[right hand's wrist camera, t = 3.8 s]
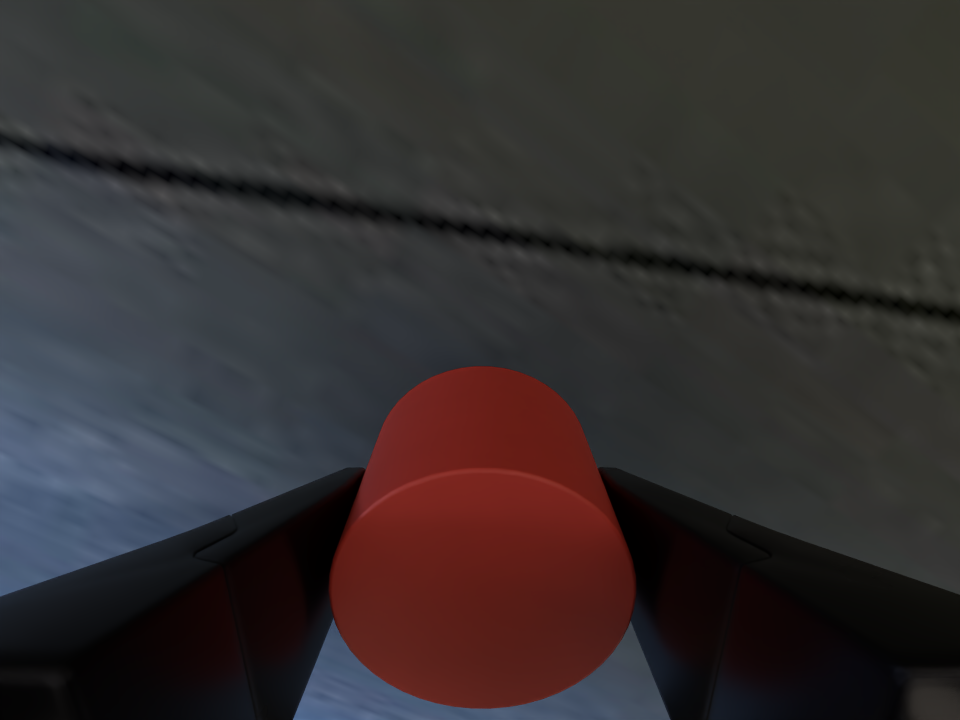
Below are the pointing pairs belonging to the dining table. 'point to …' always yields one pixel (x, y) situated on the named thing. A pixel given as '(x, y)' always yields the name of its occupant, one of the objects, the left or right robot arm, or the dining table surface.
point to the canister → (482, 547)
